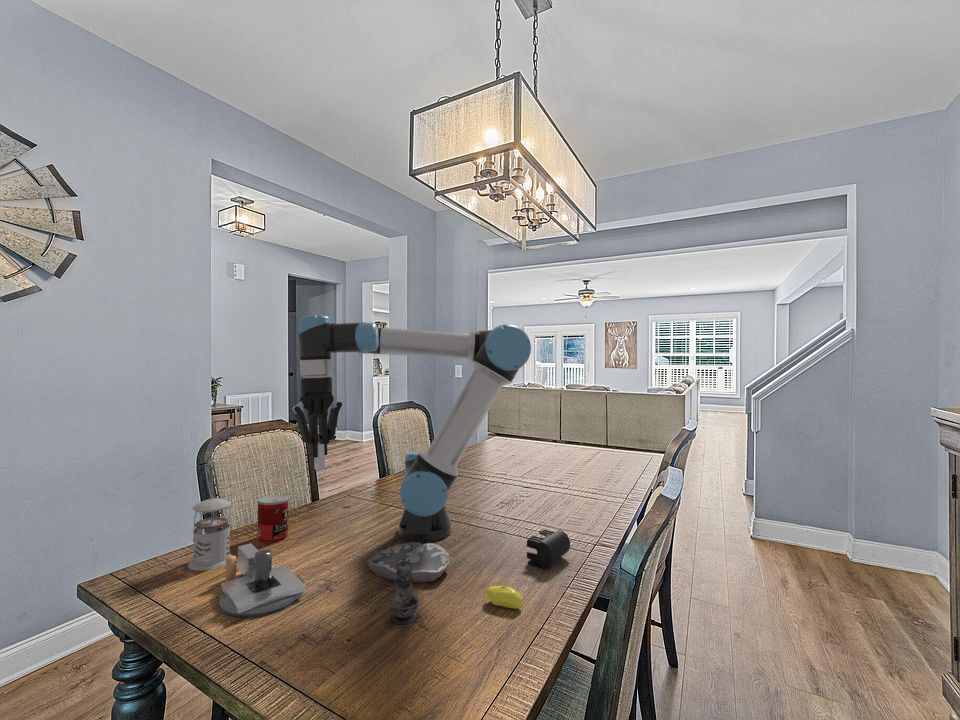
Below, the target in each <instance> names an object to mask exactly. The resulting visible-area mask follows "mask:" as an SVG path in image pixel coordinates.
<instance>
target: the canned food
mask: <svg viewBox="0 0 960 720" xmlns="http://www.w3.org/2000/svg"><path fill="white" fill-rule="evenodd" d="M289 504H290V503H289V496H288V495H285V494H269V495H265V496H262V497H259V498H258V499H257V540H258V541H259V542H260V543H265V544H266V543H267V544H271V543H277V542H280V541H283V540H285V539H286V538H288V535H289Z"/></svg>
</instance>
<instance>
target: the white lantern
mask: <svg viewBox="0 0 960 720" xmlns="http://www.w3.org/2000/svg"><path fill="white" fill-rule="evenodd" d="M207 465H208V466H211V487H210V488H211V494H210V495H211V496H210V497H211V498H208V499H205V500H202V501H201V502H199V503H196V504H195V505H194V506H193V507H192V510H193V511H194V512H195V513H194V516H193V527H194V529H193V531H192V533H193V535H192V536H193V538H192V542H193V543H192V548H193V549H192V560H191V561H190V562H189V563H188V565H187V568H189V570H190V571H191V570H192V571H197V572H199V571H201V572H202V571H204V572H205V571H211V570H215V569H218V568H221V567H225V566H226V558H227V557H229V556H234V555H233V554H232V553H230V551H231V550H230V549H231V548H230V547H231V546H230V543H231V541H230V539H231V538H230V537H231V536H230V533H231V530H230V529H231V525H230V524H229V523H228V522H229V518H227V517H223V516H216V517H215V516H214V517H213V513H216V512H219V511H222V510H226V509H228V508H229V507H230V506H231V504H232V502H230V501H229V500H227V499H223V498H219V497H218V498H214V497H213V493H214V491H213V488H214V485H213V484H214V483H213V481H214V478H213V477H214V475H213V474H214V473H213V472H214V468H213V467H214V466H215V465H217V461H216V459H210V460H208V462H207ZM197 513H199V515H200V520H198V521H197V522H196V517H197ZM208 513H210V514H211V515H210V517H207V518H203V515H206V514H208ZM220 528H224V529H220ZM218 529H219V530H218ZM203 544H204V545H203ZM203 550H204V551H203Z"/></svg>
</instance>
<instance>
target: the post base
mask: <svg viewBox="0 0 960 720" xmlns="http://www.w3.org/2000/svg"><path fill="white" fill-rule="evenodd" d="M258 551H259V552H257V553H255V586H252V587H249V590H250V591H251V592H252V594H255V593H258V592H261V591H264V590H268V589H271V588H274V587H277V586H278V585H277V584H276V583H275V582H274V581H273V580H272V568H273V551H272V550H271V549H262V550H258ZM295 575H296V576H297V577H298V578H299V579H300V580H301V581H302V582H303V583H304V584H305V581H304V579H303V578H302V577H301V576H300V575H297V574H295ZM304 592H305V591H303V592H300V593H297V594H294V595H292V596H289V597H286V598H283V599H280V600H277V601H274V602H271V603H268V604H265V605H262V606H259V607H256V608H253V609H250V610H247V611H244V612H241V613H237V612H236V610H235V609H234V607H233V606H232V604H231V603H230V601H229V599H228V598H227V596H226V595H225V593H224V592H223V591H222V593H221V594H220V596H219V599H218V600H219V601H218V602H219V604H218V605H219V606H218V607H219V609H220V611H221V612H222V614H225V615H226V616H230V617H234V618H255V617H262V616H265V615H270V614H274V613H277V612H279V611H282V610H283V609H286V608H288V607H289V606H291V605H293V604H294V603H296V602H297V601H298V600H299V599H300V598H302V595H304Z"/></svg>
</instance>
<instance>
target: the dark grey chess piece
mask: <svg viewBox="0 0 960 720" xmlns="http://www.w3.org/2000/svg"><path fill="white" fill-rule="evenodd" d="M413 583H415V582H414V579H413V578H412V564H411V563H410V562H409V561H406V558H405V557H404V558H403V561H401V562H399V563H398V565H397V579H396V580H395V581H394V584H395V585H396V587H395V588H396V589H395V594H394V595H393V596H391V597H390V598H389V599H388V605H389V607H390V609H389V610H390V611H391V612H392V615H391V617H390V619H389V622H390V624H391V625H392V626H393V627H396V628H408V627H411V626H413V625H415V624H416V623H417V622H418V619H419V617H418V614H417V613H415V612H417V609H418V606H419V603H420V602H421V601H420V597H419V596H418V595H417V594H415V593H414V592H413Z"/></svg>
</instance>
